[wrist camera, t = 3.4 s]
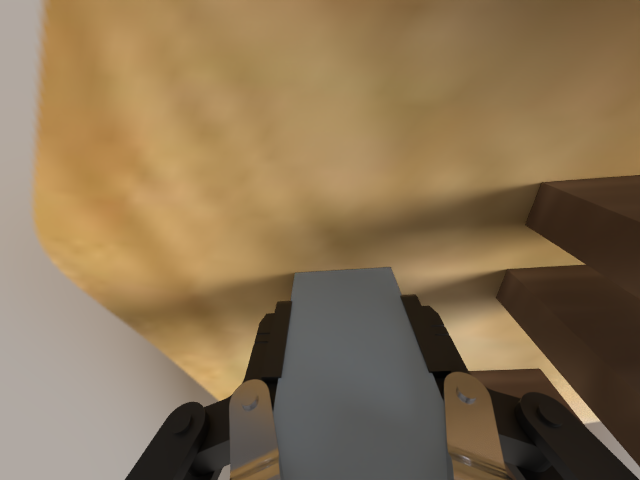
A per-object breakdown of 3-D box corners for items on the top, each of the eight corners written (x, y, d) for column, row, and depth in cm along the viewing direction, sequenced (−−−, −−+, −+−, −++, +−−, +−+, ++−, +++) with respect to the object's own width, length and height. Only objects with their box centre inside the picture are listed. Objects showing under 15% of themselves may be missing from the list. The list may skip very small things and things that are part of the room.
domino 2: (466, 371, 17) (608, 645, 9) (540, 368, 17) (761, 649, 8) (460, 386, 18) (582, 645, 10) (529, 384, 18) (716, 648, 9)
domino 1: (295, 272, 13) (237, 636, 4) (390, 267, 12) (537, 643, 4) (299, 300, 14) (261, 637, 5) (388, 295, 14) (500, 642, 5)
